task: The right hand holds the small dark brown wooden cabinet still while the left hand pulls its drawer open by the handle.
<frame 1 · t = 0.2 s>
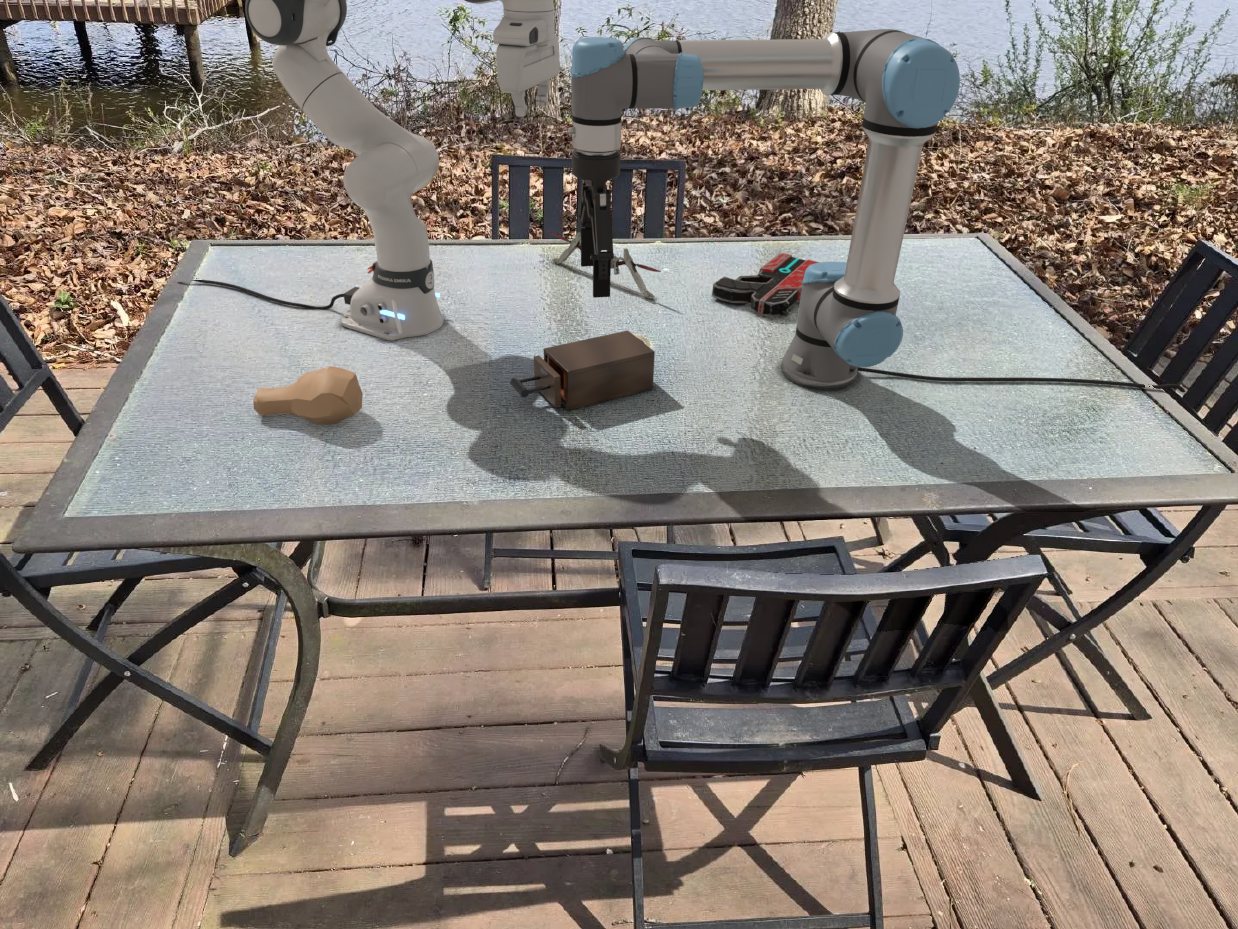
left hand: (531, 110, 161), 48 cm above the table, tool pointing down, fingers open, 8 cm apart
right hand: (594, 280, 147), 28 cm above the table, tool pointing down, fingers open, 13 cm apart
gun: (770, 291, 216), on the table
drawer: (571, 375, 168), point 4 cm above the table, slide at 1.2 cm
squash: (311, 415, 162), on the table
bow: (601, 279, 220), on the table
cabinet: (598, 387, 173), on the table
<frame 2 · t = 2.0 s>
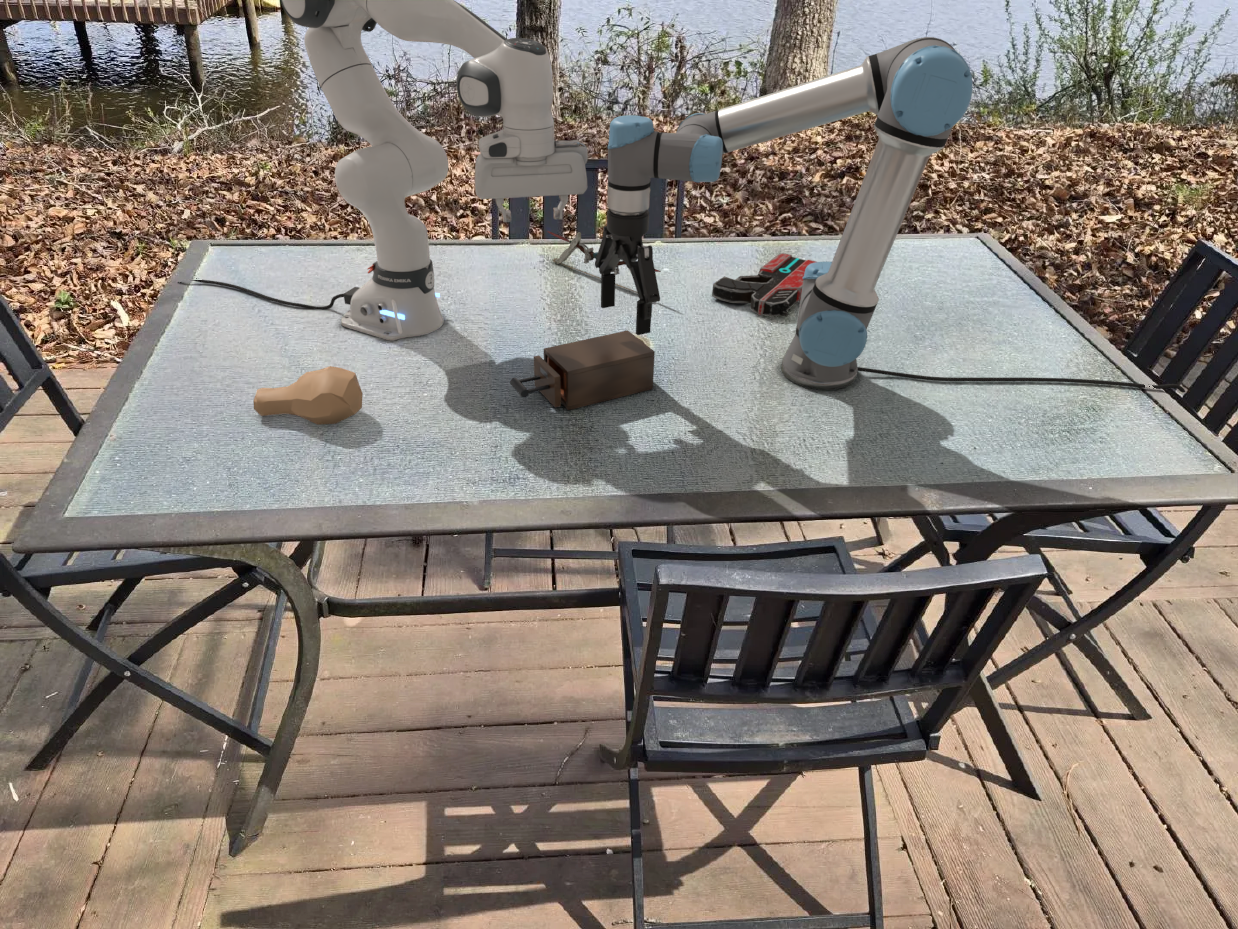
left hand: (532, 219, 161), 31 cm above the table, tool pointing down, fingers open, 8 cm apart
right hand: (624, 319, 168), 14 cm above the table, tool pointing down, fingers open, 13 cm apart
nothing on the table moved.
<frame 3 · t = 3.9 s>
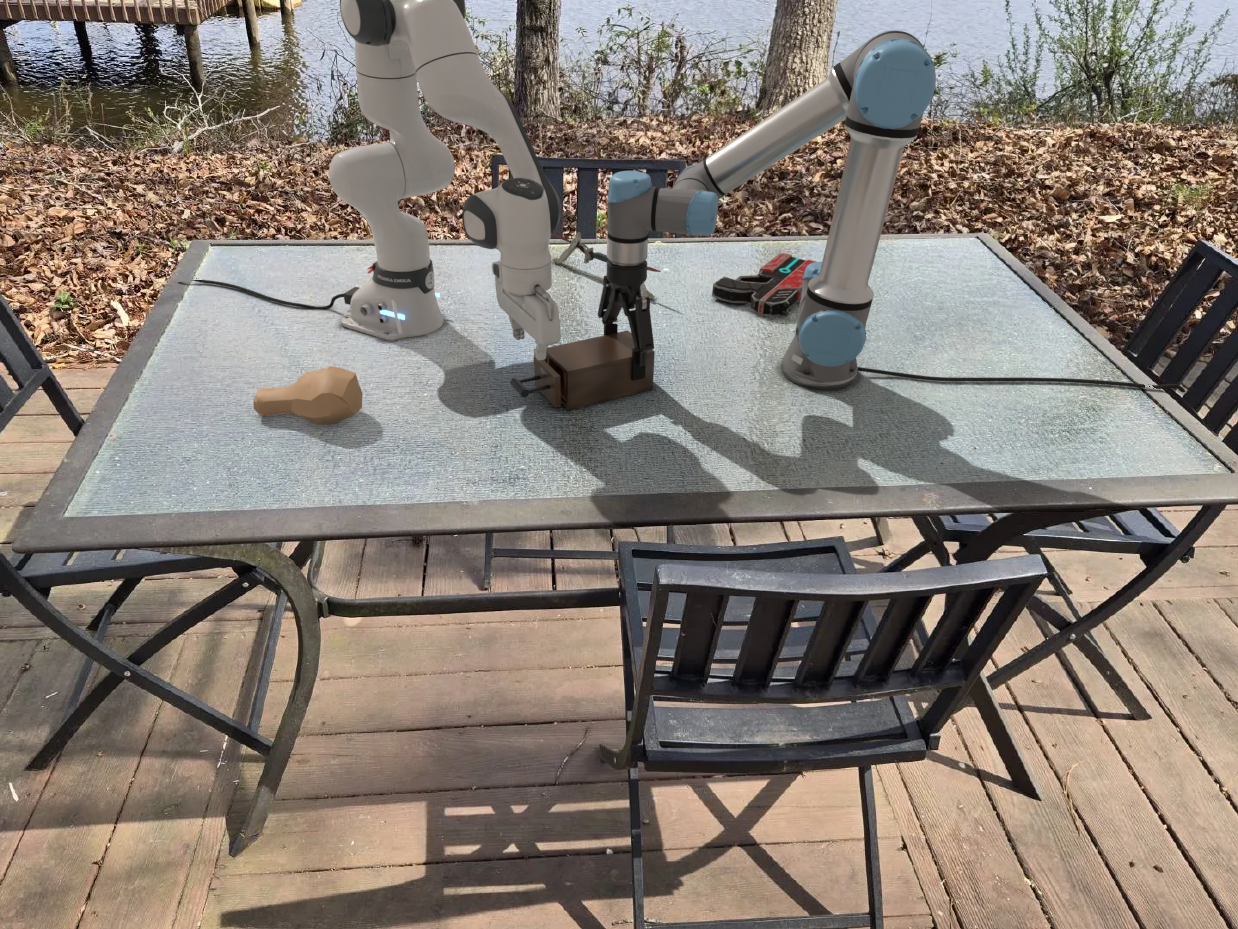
left hand: (529, 348, 161), 12 cm above the table, tool pointing down, fingers open, 8 cm apart
right hand: (623, 366, 174), 3 cm above the table, tool pointing down, fingers closed on cabinet, 11 cm apart
cabinet: (598, 387, 173), on the table, touching right hand
everything else where it was.
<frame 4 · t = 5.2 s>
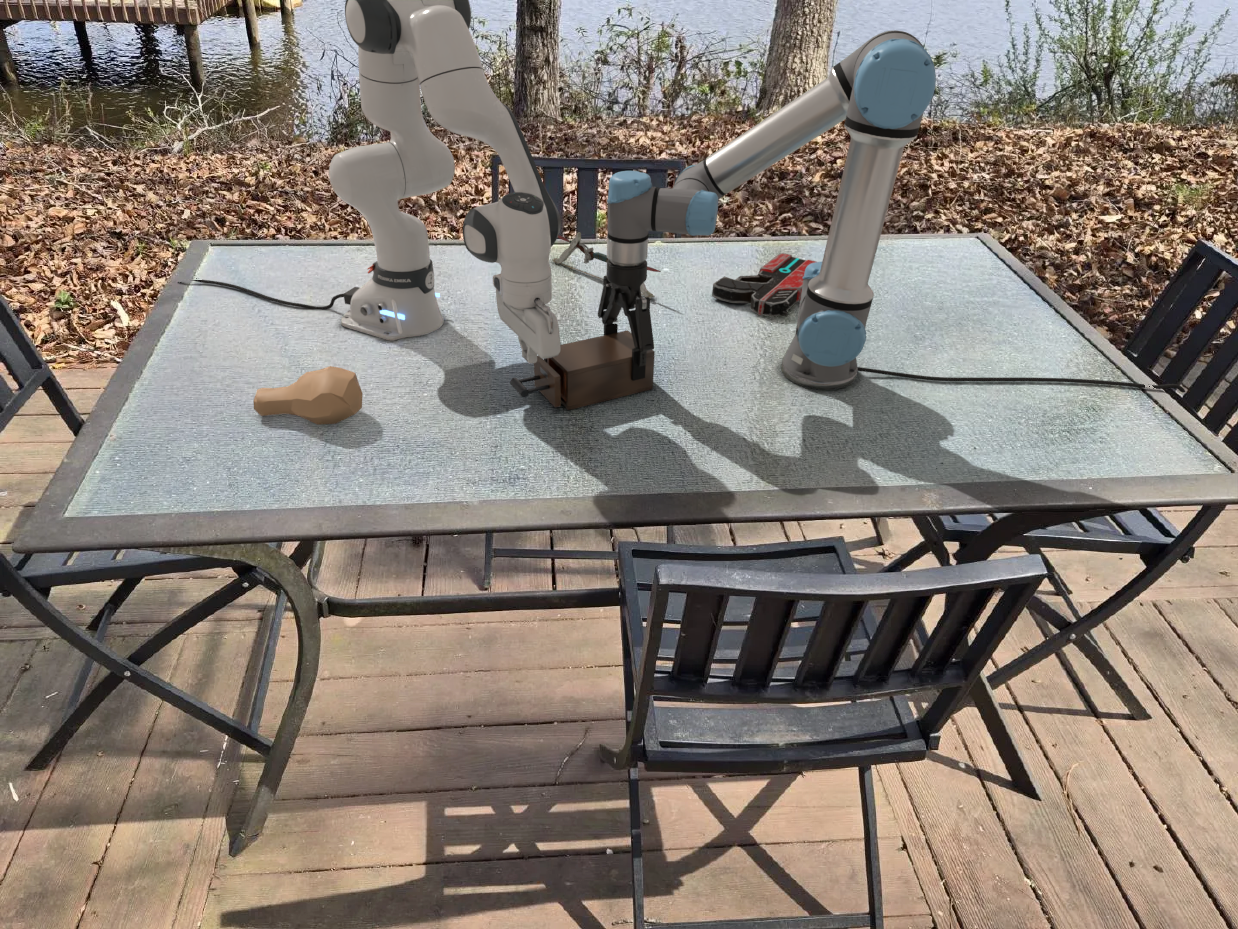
left hand: (529, 360, 162), 9 cm above the table, tool pointing down, fingers closed
right hand: (623, 366, 174), 3 cm above the table, tool pointing down, fingers closed on cabinet, 11 cm apart
cabinet: (598, 387, 173), on the table, touching right hand
everything else where it was.
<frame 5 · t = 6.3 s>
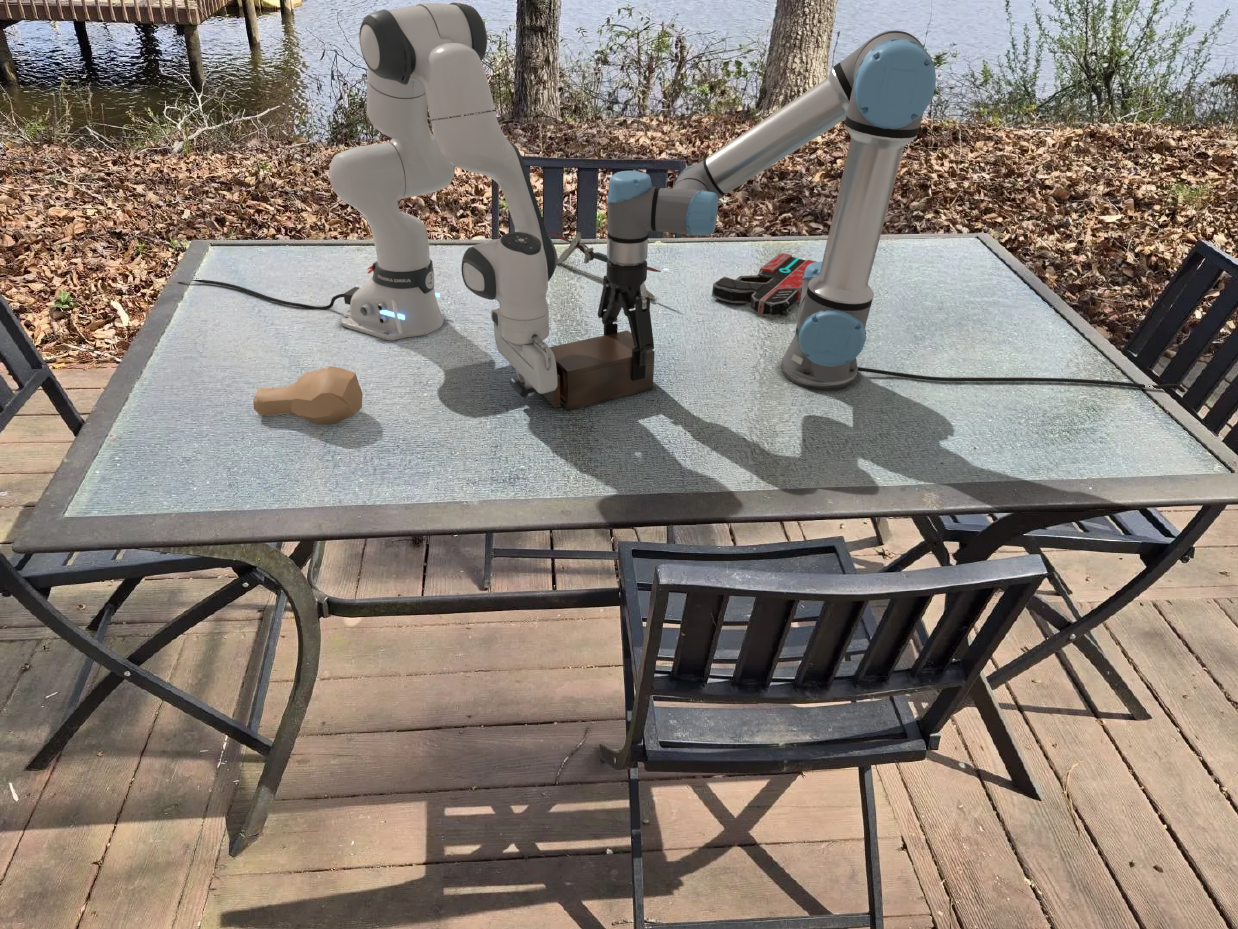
left hand: (527, 392, 166), 3 cm above the table, tool pointing down, fingers closed, pressing on drawer
right hand: (623, 366, 174), 3 cm above the table, tool pointing down, fingers closed on cabinet, 11 cm apart
drawer: (571, 375, 168), point 4 cm above the table, slide at 1.3 cm, touching left hand
cabinet: (598, 387, 173), on the table, touching right hand
everything else where it was.
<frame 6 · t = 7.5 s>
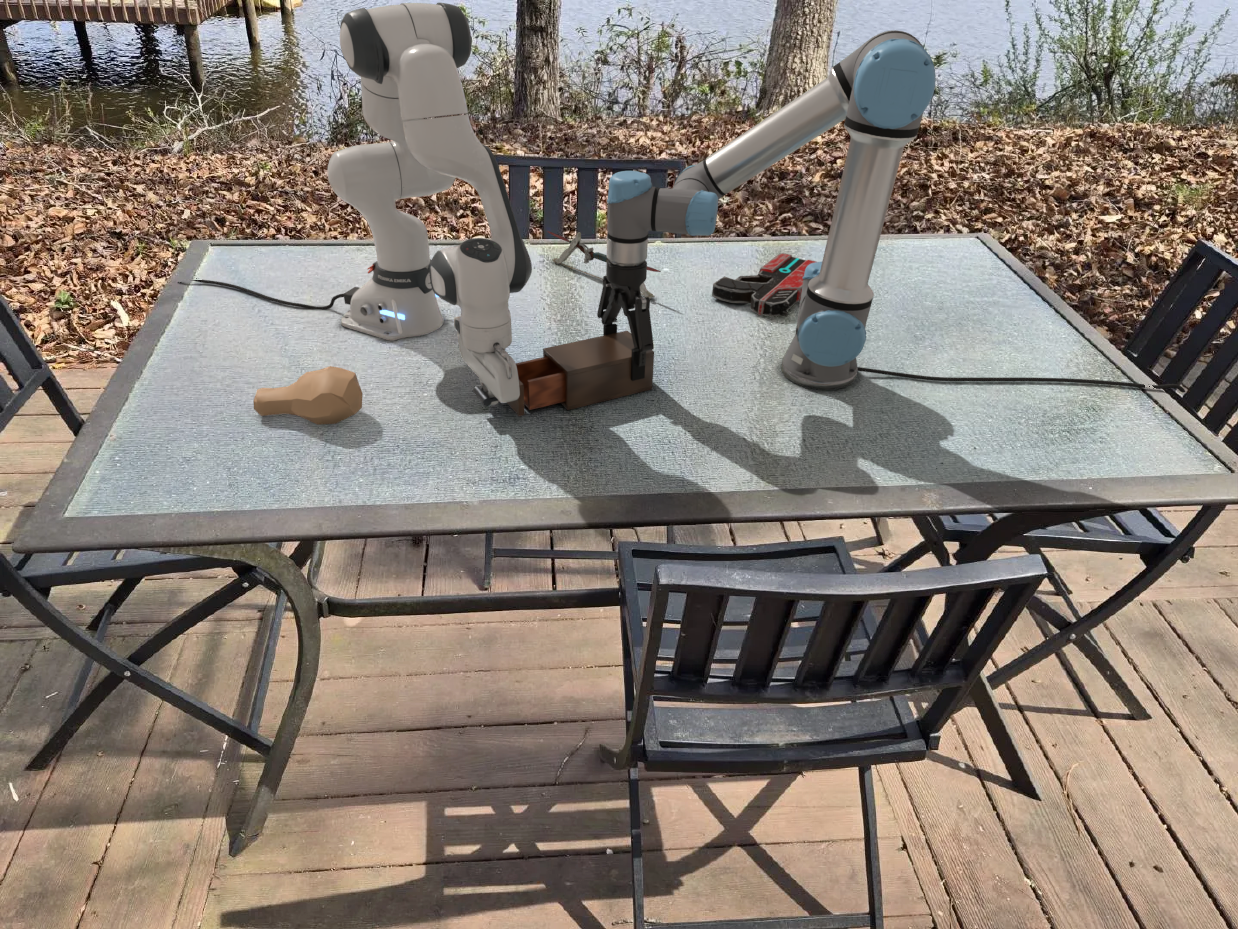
left hand: (491, 401, 162), 3 cm above the table, tool pointing down, fingers closed, pressing on drawer
right hand: (623, 366, 174), 3 cm above the table, tool pointing down, fingers closed on cabinet, 11 cm apart
drawer: (536, 383, 165), point 4 cm above the table, slide at 8.5 cm, touching left hand
cabinet: (598, 387, 173), on the table, touching right hand
everything else where it was.
when the right hand's fingers open (3 cm above the table, at t = 9.4 s): cabinet stays where it is, on the table.
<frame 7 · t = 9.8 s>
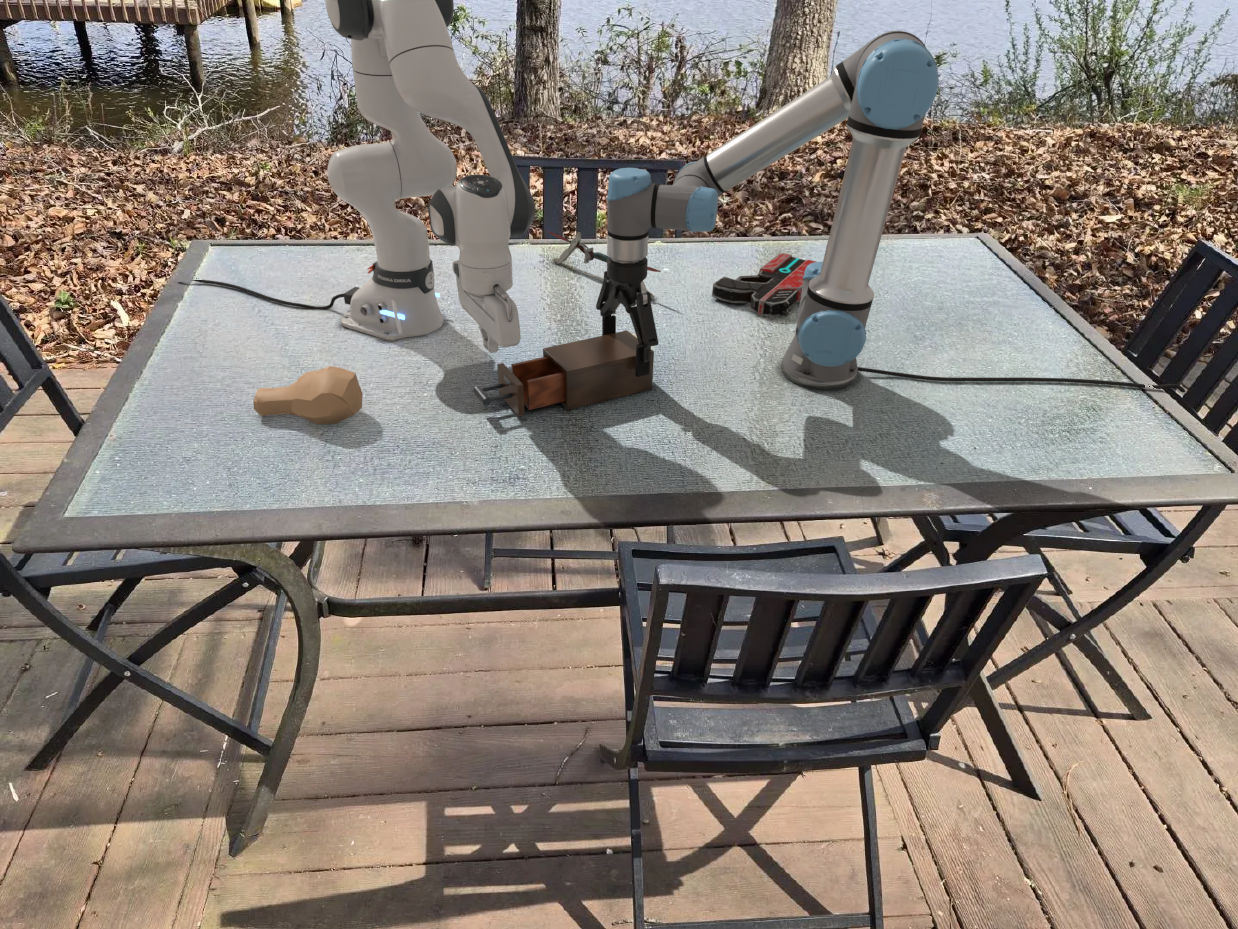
left hand: (491, 349, 157), 13 cm above the table, tool pointing down, fingers closed
right hand: (625, 360, 173), 5 cm above the table, tool pointing down, fingers open, 13 cm apart
drawer: (536, 383, 165), point 4 cm above the table, slide at 8.5 cm
cabinet: (598, 387, 173), on the table
everything else where it was.
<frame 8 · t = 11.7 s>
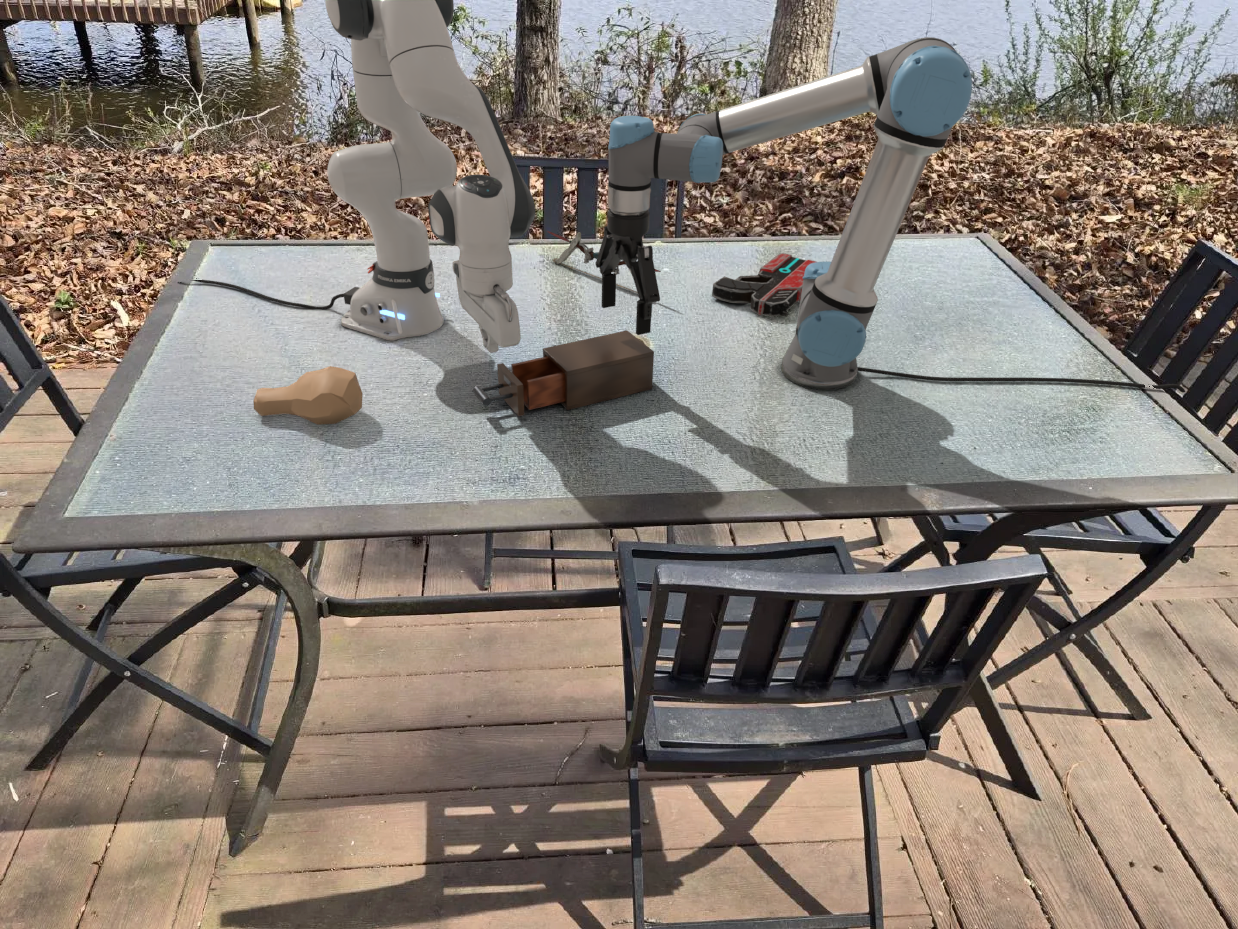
left hand: (491, 349, 157), 13 cm above the table, tool pointing down, fingers closed
right hand: (625, 319, 168), 13 cm above the table, tool pointing down, fingers open, 13 cm apart
nothing on the table moved.
at the end: drawer slide at 8.5 cm; cabinet tilted 0°; cabinet never tilted more than 1° during the clip; cabinet moved 0.1 cm from its start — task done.
